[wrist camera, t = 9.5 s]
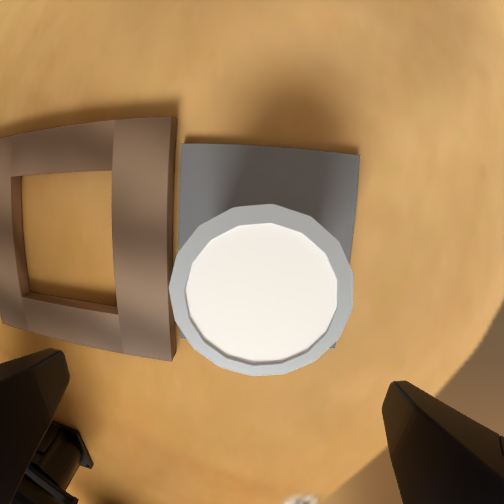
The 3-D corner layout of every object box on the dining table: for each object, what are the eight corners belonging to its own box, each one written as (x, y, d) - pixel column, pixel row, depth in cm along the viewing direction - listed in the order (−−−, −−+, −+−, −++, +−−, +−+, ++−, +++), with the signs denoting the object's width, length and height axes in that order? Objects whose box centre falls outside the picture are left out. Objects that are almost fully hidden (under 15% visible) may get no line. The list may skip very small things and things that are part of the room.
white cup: (187, 212, 18) (141, 236, 11) (305, 177, 17) (332, 180, 10) (224, 320, 19) (204, 391, 12) (334, 291, 18) (367, 353, 12)
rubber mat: (333, 344, 20) (334, 348, 19) (182, 334, 20) (180, 337, 20) (357, 155, 17) (359, 155, 16) (183, 144, 17) (181, 143, 17)
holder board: (176, 352, 20) (171, 361, 19) (10, 318, 21) (2, 323, 20) (177, 119, 17) (171, 116, 16) (-4, 141, 17) (-14, 141, 16)
